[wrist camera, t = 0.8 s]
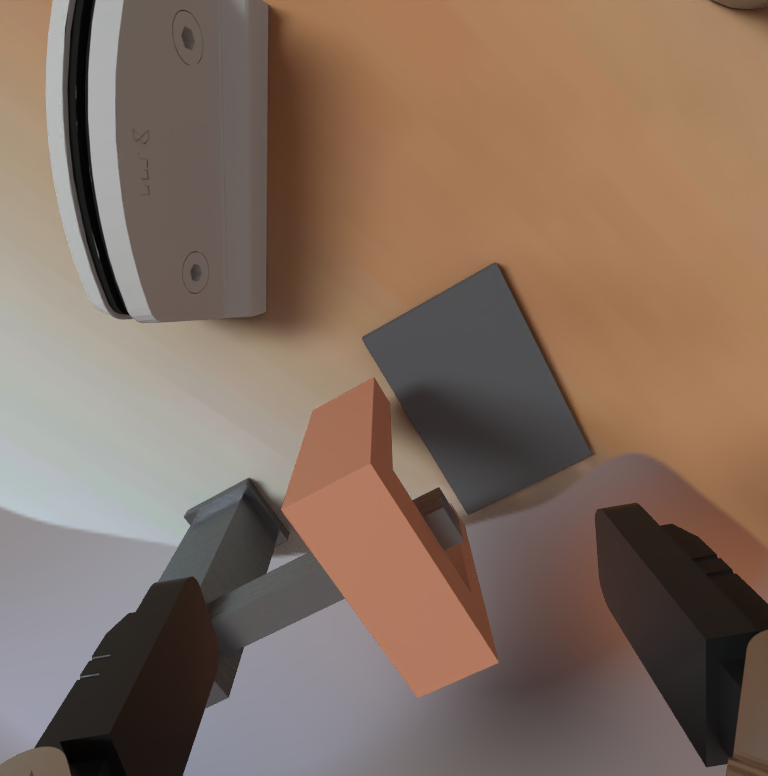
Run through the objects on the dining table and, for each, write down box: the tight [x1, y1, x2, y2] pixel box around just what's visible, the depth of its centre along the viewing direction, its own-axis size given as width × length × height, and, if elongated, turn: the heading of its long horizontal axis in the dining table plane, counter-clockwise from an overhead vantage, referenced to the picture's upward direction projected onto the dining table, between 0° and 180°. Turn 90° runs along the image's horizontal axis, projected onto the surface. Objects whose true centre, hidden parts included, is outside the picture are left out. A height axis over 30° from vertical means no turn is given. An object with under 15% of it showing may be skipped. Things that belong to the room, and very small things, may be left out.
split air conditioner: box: [46, 0, 268, 323], centre depth 27 cm, size 17×5×10 cm, turn 176°
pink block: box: [281, 377, 499, 698], centre depth 28 cm, size 4×11×10 cm, turn 30°
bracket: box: [158, 478, 464, 708], centre depth 31 cm, size 18×5×14 cm, turn 120°
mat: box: [362, 263, 592, 515], centre depth 35 cm, size 9×14×1 cm, turn 30°
